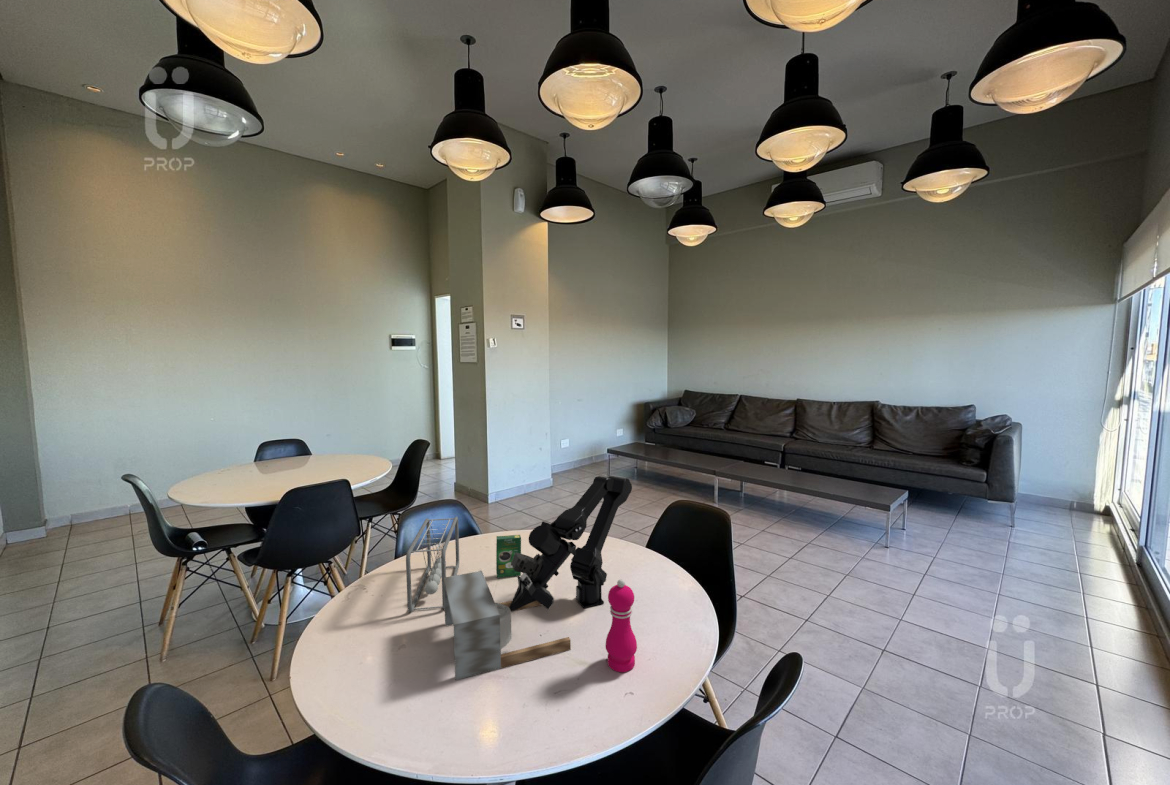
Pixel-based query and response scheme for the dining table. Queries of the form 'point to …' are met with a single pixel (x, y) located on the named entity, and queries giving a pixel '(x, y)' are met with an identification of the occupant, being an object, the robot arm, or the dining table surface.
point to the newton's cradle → (438, 565)
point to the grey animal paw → (504, 624)
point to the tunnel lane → (484, 628)
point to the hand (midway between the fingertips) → (510, 609)
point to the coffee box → (507, 555)
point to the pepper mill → (621, 629)
